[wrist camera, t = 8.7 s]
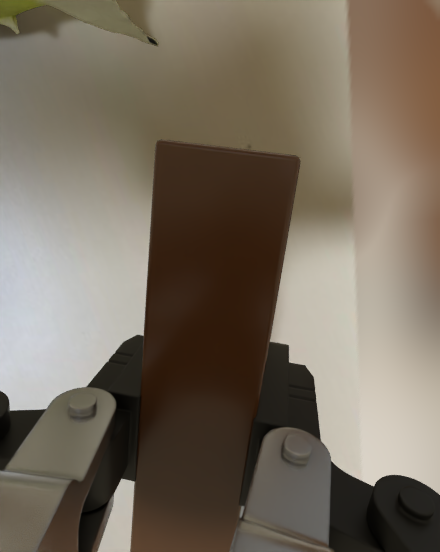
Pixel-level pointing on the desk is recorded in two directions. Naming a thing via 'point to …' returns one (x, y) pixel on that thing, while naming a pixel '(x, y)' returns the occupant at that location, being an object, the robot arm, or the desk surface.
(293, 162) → the brown bar
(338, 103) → the desk surface
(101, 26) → the fish
